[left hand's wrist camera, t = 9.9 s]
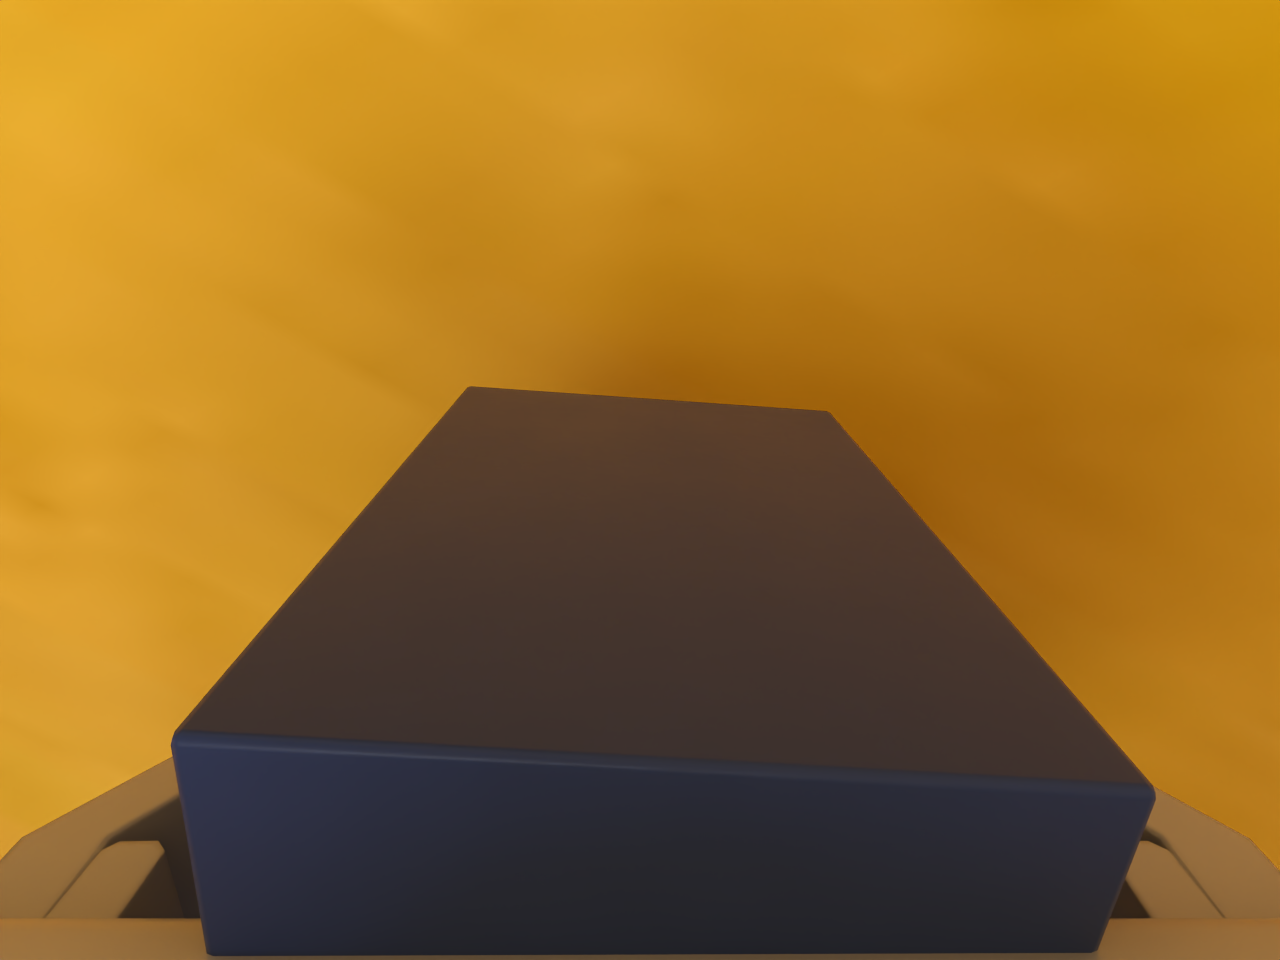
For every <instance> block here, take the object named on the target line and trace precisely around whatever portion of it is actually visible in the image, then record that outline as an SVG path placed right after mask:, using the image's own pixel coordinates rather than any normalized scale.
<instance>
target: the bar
mask: <svg viewBox="0 0 1280 960" xmlns="http://www.w3.org/2000/svg"><path fill="white" fill-rule="evenodd" d="M171 749H172V755H173V761H174V767H175V772H176V778H177V784H178V790H179V796H180V801H181V807H182V813H183V819H184V825H185V830H186V836H187V842H188V848H189V854H190V860H191V865H192V871H193V877H194V883H195V889H196V894H197V900H198V906H199V912H200V918H201V924H202V929H203V935H204V941H205V947H206V953H207V954H209V955H212V956H404V955H669V954H933V953H1092V952H1094V951H1097V950H1098V948H1099V945H1100V942H1101V940H1102V937H1103V935H1104V932H1105V930H1106V927H1107V924H1108V922H1109V919H1110V917H1111V914H1112V912H1113V909H1114V906H1115V904H1116V901H1117V899H1118V896H1119V894H1120V891H1121V888H1122V886H1123V883H1124V881H1125V878H1126V876H1127V873H1128V870H1129V868H1130V865H1131V863H1132V860H1133V857H1134V855H1135V852H1136V850H1137V847H1138V845H1139V842H1140V839H1141V837H1142V834H1143V832H1144V829H1145V827H1146V824H1147V821H1148V819H1149V816H1150V814H1151V811H1152V809H1153V806H1154V803H1155V801H1156V792H1155V790H1154V787H1153V785H1152V784H1151V783H1150V782H1149V781H1148V780H1147V778H1146V777H1145V776H1144V775H1143V774H1142V773H1141V771H1140V770H1139V769H1138V768H1137V767H1136V766H1135V765H1134V763H1133V762H1132V761H1131V760H1130V759H1129V758H1128V756H1127V755H1126V754H1125V753H1124V752H1123V751H1122V750H1121V748H1120V747H1119V746H1118V745H1117V744H1116V743H1115V741H1114V740H1113V739H1112V738H1111V737H1110V736H1109V735H1108V733H1107V732H1106V731H1105V730H1104V729H1103V728H1102V726H1101V725H1100V724H1099V723H1098V722H1097V721H1096V720H1095V718H1094V717H1093V716H1092V715H1091V714H1090V713H1089V711H1088V710H1087V709H1086V708H1085V707H1084V706H1083V705H1082V703H1081V702H1080V701H1079V700H1078V699H1077V698H1076V696H1075V695H1074V694H1073V693H1072V692H1071V691H1070V690H1069V688H1068V687H1067V686H1066V685H1065V684H1064V683H1063V681H1062V680H1061V679H1060V678H1059V677H1058V676H1057V675H1056V673H1055V672H1054V671H1053V670H1052V669H1051V668H1050V666H1049V665H1048V664H1047V663H1046V662H1045V661H1044V660H1043V658H1042V657H1041V656H1040V655H1039V654H1038V653H1037V651H1036V650H1035V649H1034V648H1033V647H1032V646H1031V645H1030V643H1029V642H1028V641H1027V640H1026V639H1025V638H1024V636H1023V635H1022V634H1021V633H1020V632H1019V631H1018V630H1017V628H1016V627H1015V626H1014V625H1013V624H1012V623H1011V621H1010V620H1009V619H1008V618H1007V617H1006V616H1005V615H1004V613H1003V612H1002V611H1001V610H1000V609H999V608H998V606H997V605H996V604H995V603H994V602H993V601H992V600H991V598H990V597H989V596H988V595H987V594H986V593H985V591H984V590H983V589H982V588H981V587H980V586H979V585H978V583H977V582H976V581H975V580H974V579H973V578H972V576H971V575H970V574H969V573H968V572H967V571H966V570H965V568H964V567H963V566H962V565H961V564H960V563H959V561H958V560H957V559H956V558H955V557H954V556H953V555H952V553H951V552H950V551H949V550H948V549H947V548H946V546H945V545H944V544H943V543H942V542H941V541H940V540H939V538H938V537H937V536H936V535H935V534H934V533H933V531H932V530H931V529H930V528H929V527H928V526H927V525H926V523H925V522H924V521H923V520H922V519H921V518H920V516H919V515H918V514H917V513H916V512H915V511H914V510H913V508H912V507H911V506H910V505H909V504H908V503H907V501H906V500H905V499H904V498H903V497H902V496H901V495H900V493H899V492H898V491H897V490H896V489H895V488H894V486H893V485H892V484H891V483H890V482H889V481H888V480H887V478H886V477H885V476H884V475H883V474H882V473H881V471H880V470H879V469H878V468H877V467H876V466H875V465H874V463H873V462H872V461H871V460H870V459H869V458H868V456H867V455H866V454H865V453H864V452H863V451H862V450H861V448H860V447H859V446H858V445H857V444H856V443H855V441H854V440H853V439H852V438H851V437H850V436H849V435H848V433H847V432H846V431H845V430H844V429H843V428H842V426H841V425H840V424H839V423H838V422H837V421H836V420H835V418H834V417H833V416H832V415H831V414H830V413H829V412H827V411H816V410H801V409H787V408H773V407H758V406H744V405H730V404H715V403H701V402H687V401H672V400H658V399H644V398H629V397H615V396H600V395H586V394H572V393H557V392H543V391H529V390H514V389H500V388H486V387H468V388H467V389H466V390H465V391H464V392H463V393H462V395H461V396H460V397H459V398H458V399H457V401H456V402H455V403H454V404H453V405H452V406H451V408H450V409H449V410H448V411H447V412H446V413H445V415H444V416H443V417H442V418H441V419H440V420H439V422H438V423H437V424H436V425H435V426H434V428H433V429H432V430H431V431H430V432H429V433H428V435H427V436H426V437H425V438H424V439H423V440H422V442H421V443H420V444H419V445H418V446H417V447H416V449H415V450H414V451H413V452H412V453H411V455H410V456H409V457H408V458H407V459H406V460H405V462H404V463H403V464H402V465H401V466H400V467H399V469H398V470H397V471H396V472H395V473H394V475H393V476H392V477H391V478H390V479H389V480H388V482H387V483H386V484H385V485H384V486H383V487H382V489H381V490H380V491H379V492H378V493H377V494H376V496H375V497H374V498H373V499H372V500H371V502H370V503H369V504H368V505H367V506H366V507H365V509H364V510H363V511H362V512H361V513H360V514H359V516H358V517H357V518H356V519H355V520H354V521H353V523H352V524H351V525H350V526H349V527H348V529H347V530H346V531H345V532H344V533H343V534H342V536H341V537H340V538H339V539H338V540H337V541H336V543H335V544H334V545H333V546H332V547H331V549H330V550H329V551H328V552H327V553H326V554H325V556H324V557H323V558H322V559H321V560H320V561H319V563H318V564H317V565H316V566H315V567H314V568H313V570H312V571H311V572H310V573H309V574H308V576H307V577H306V578H305V579H304V580H303V581H302V583H301V584H300V585H299V586H298V587H297V588H296V590H295V591H294V592H293V593H292V594H291V595H290V597H289V598H288V599H287V600H286V601H285V603H284V604H283V605H282V606H281V607H280V608H279V610H278V611H277V612H276V613H275V614H274V615H273V617H272V618H271V619H270V620H269V621H268V622H267V624H266V625H265V626H264V627H263V628H262V630H261V631H260V632H259V633H258V634H257V635H256V637H255V638H254V639H253V640H252V641H251V642H250V644H249V645H248V646H247V647H246V648H245V650H244V651H243V652H242V653H241V654H240V655H239V657H238V658H237V659H236V660H235V661H234V662H233V664H232V665H231V666H230V667H229V668H228V669H227V671H226V672H225V673H224V674H223V675H222V677H221V678H220V679H219V680H218V681H217V682H216V684H215V685H214V686H213V687H212V688H211V689H210V691H209V692H208V693H207V694H206V695H205V696H204V698H203V699H202V700H201V701H200V702H199V704H198V705H197V706H196V707H195V708H194V709H193V711H192V712H191V713H190V714H189V715H188V716H187V718H186V719H185V720H184V721H183V722H182V724H181V725H180V726H179V727H178V728H177V729H176V731H175V732H174V735H173V738H172V742H171Z"/></svg>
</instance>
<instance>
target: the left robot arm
mask: <svg viewBox="0 0 1280 960" xmlns="http://www.w3.org/2000/svg"><path fill="white" fill-rule="evenodd" d="M1153 787H1154V786H1153ZM1154 790H1155V792H1156V801H1155V803H1154V806H1153V809H1152V811H1151V814H1150V816H1149V819H1148V821H1147V824H1146V827H1145V829H1144V832H1143V834H1142V837H1141V839H1140V842H1139V845H1138V847H1137V850H1136V852H1135V855H1134V857H1133V860H1132V863H1131V865H1130V868H1129V870H1128V873H1127V876H1126V878H1125V881H1124V883H1123V886H1122V888H1121V891H1120V894H1119V896H1118V899H1117V901H1116V904H1115V906H1114V909H1113V912H1112V914H1111V917H1110V919H1109V922H1108V924H1107V927H1106V930H1105V932H1104V935H1103V937H1102V940H1101V942H1100V945H1099V948H1098V950H1097V951H1094V952H1092V953H933V954H669V955H404V956H212V955H209V954H207V953H206V947H205V941H204V935H203V929H202V924H201V918H200V912H199V906H198V900H197V894H196V889H195V883H194V877H193V871H192V865H191V860H190V854H189V848H188V842H187V836H186V830H185V825H184V819H183V813H182V807H181V801H180V796H179V790H178V784H177V778H176V772H175V767H174V761H173V757H171V758H169V759H167V760H165V761H163V762H161V763H160V764H158V765H156V766H154V767H152V768H150V769H148V770H147V771H145V772H143V773H141V774H139V775H137V776H135V777H134V778H132V779H130V780H128V781H126V782H124V783H122V784H121V785H119V786H117V787H115V788H113V789H111V790H109V791H108V792H106V793H104V794H102V795H100V796H98V797H96V798H94V799H93V800H91V801H89V802H87V803H85V804H83V805H81V806H80V807H78V808H76V809H74V810H72V811H70V812H68V813H67V814H65V815H63V816H61V817H59V818H57V819H55V820H54V821H52V822H50V823H48V824H46V825H44V826H42V827H41V828H39V829H37V830H35V831H33V832H31V833H29V834H28V835H26V836H24V837H22V838H21V839H20V840H19V841H18V842H17V843H16V844H15V845H14V846H13V847H12V848H11V850H10V851H9V852H8V853H7V854H6V855H5V856H4V857H3V858H2V859H1V860H0V960H1280V871H1279V870H1278V869H1277V868H1276V867H1275V866H1274V864H1273V863H1272V862H1271V861H1270V860H1269V859H1268V858H1267V857H1266V856H1265V855H1264V854H1263V853H1262V852H1261V850H1260V849H1259V848H1258V847H1257V846H1256V845H1255V844H1254V843H1253V842H1252V841H1251V840H1250V839H1249V838H1247V837H1245V836H1244V835H1242V834H1240V833H1238V832H1236V831H1234V830H1233V829H1231V828H1229V827H1227V826H1225V825H1223V824H1222V823H1220V822H1218V821H1216V820H1214V819H1212V818H1211V817H1209V816H1207V815H1205V814H1203V813H1201V812H1200V811H1198V810H1196V809H1194V808H1192V807H1190V806H1189V805H1187V804H1185V803H1183V802H1181V801H1179V800H1178V799H1176V798H1174V797H1172V796H1170V795H1168V794H1167V793H1165V792H1163V791H1161V790H1159V789H1157V788H1155V787H1154Z"/></svg>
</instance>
